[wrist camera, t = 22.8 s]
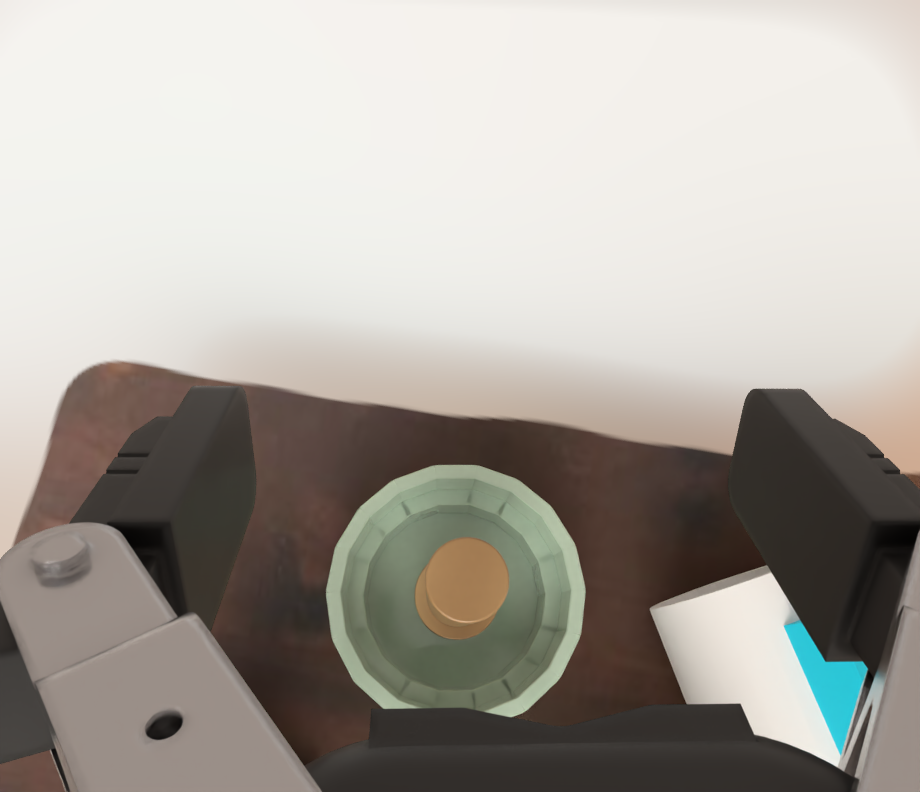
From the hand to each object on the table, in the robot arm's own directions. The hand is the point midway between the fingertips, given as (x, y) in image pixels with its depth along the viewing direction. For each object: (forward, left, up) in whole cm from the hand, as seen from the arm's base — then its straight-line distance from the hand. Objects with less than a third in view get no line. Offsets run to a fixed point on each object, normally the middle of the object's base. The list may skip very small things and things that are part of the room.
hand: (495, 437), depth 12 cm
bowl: (0, -1, -25) cm, 25 cm away
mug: (+16, -3, -25) cm, 30 cm away
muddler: (0, -1, -24) cm, 24 cm away
